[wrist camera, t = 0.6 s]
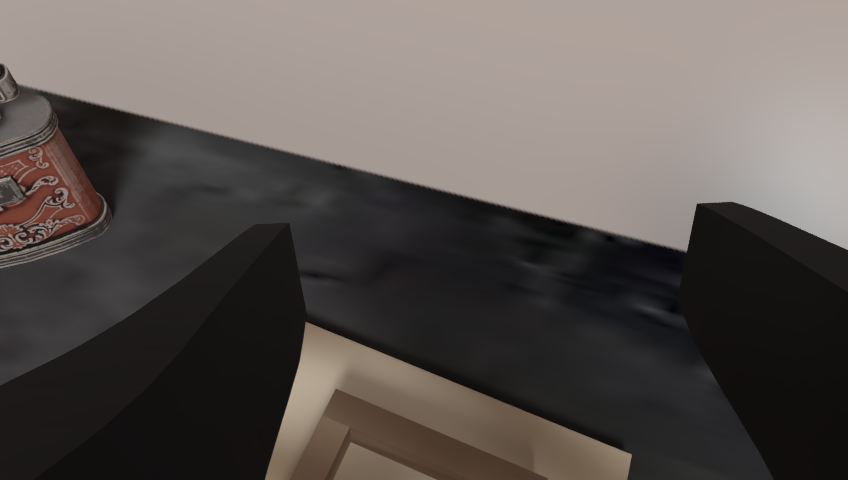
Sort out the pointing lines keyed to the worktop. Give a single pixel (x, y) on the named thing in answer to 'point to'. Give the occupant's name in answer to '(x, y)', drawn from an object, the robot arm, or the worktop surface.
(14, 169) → the lighter
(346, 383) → the socket dock
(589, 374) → the worktop surface
